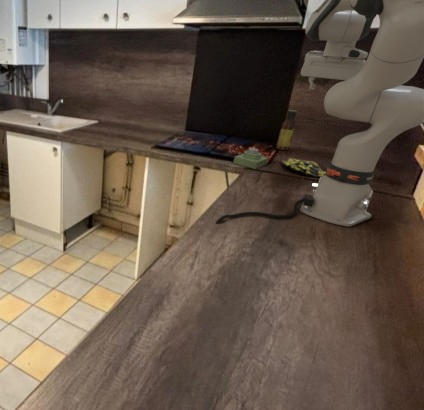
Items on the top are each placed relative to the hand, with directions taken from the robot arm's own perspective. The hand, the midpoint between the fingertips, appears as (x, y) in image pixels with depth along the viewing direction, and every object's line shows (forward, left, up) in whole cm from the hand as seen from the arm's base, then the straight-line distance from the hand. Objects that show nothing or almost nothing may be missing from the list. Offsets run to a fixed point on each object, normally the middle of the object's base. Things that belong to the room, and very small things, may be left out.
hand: (325, 91), depth 135 cm
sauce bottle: (+40, +21, -34) cm, 56 cm away
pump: (-3, +19, -29) cm, 35 cm away
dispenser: (-3, +19, -33) cm, 39 cm away
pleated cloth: (+9, +1, -34) cm, 35 cm away
